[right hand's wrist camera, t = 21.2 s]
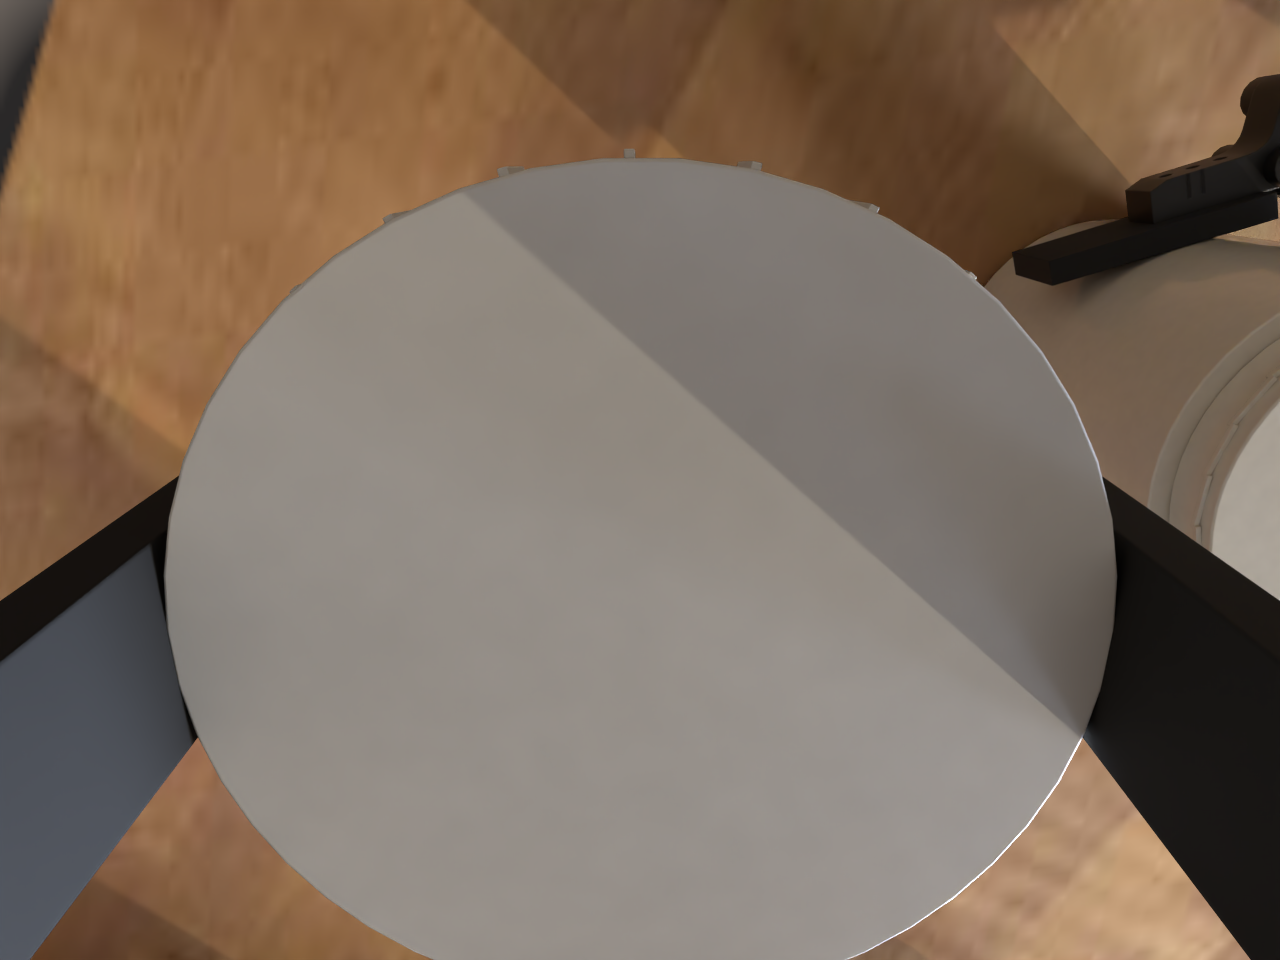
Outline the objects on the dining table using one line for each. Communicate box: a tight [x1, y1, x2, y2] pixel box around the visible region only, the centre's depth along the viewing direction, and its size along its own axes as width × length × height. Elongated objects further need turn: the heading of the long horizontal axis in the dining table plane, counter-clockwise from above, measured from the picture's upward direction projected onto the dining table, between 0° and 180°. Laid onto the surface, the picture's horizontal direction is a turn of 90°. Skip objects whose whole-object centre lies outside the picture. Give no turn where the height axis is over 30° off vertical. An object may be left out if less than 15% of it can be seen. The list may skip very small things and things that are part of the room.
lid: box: [164, 149, 1117, 960], centre depth 11 cm, size 11×11×2 cm
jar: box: [984, 219, 1280, 600], centre depth 27 cm, size 10×10×16 cm
